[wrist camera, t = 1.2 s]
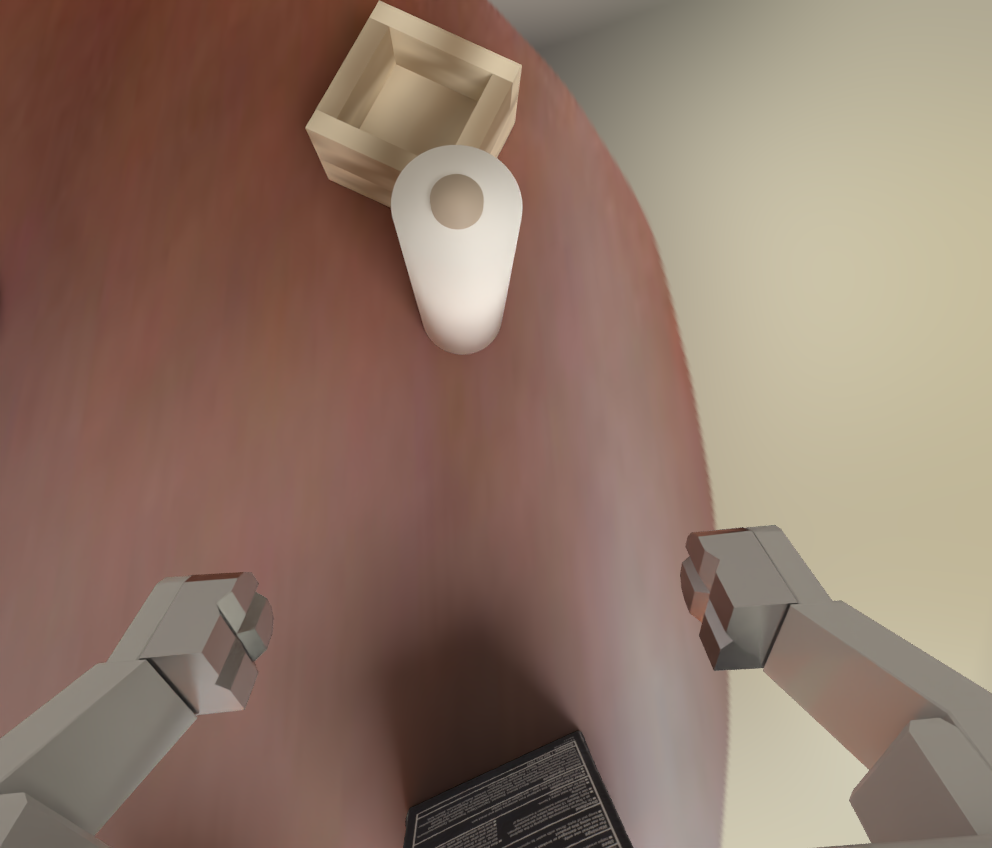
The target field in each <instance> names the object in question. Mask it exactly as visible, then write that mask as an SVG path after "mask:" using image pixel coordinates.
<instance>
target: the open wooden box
mask: <svg viewBox="0 0 992 848" xmlns="http://www.w3.org/2000/svg"><path fill="white" fill-rule="evenodd" d="M521 67H522V65H520V64H518V63H516V62H514V61H511V60H509V59H507V58H505V57H503V56H500V55H498V54H496V53H494V52H492V51H489V50H487V49H485V48H483V47H481V46H478V45H476V44H474V43H472V42H470V41H467V40H465V39H463V38H461V37H459V36H456V35H454V34H452V33H450V32H448V31H445V30H443V29H441V28H439V27H437V26H434V25H432V24H430V23H428V22H426V21H424V20H421V19H419V18H417V17H415V16H413V15H410V14H408V13H406V12H404V11H402V10H399V9H397V8H395V7H393V6H391V5H388V4H386V3H384V2H382V1H380V0H379V2H378V3H377V5H376V7H375V9H374V10H373V12H372V14H371V15H370V17H369V19H368V21H367V22H366V24H365V26H364V28H363V29H362V31H361V33H360V34H359V36H358V38H357V40H356V41H355V43H354V45H353V46H352V48H351V50H350V52H349V53H348V55H347V57H346V59H345V60H344V62H343V64H342V65H341V67H340V69H339V71H338V72H337V74H336V76H335V77H334V79H333V81H332V83H331V84H330V86H329V88H328V89H327V91H326V93H325V95H324V96H323V98H322V100H321V102H320V103H319V105H318V107H317V108H316V110H315V112H314V114H313V115H312V117H311V119H310V120H309V122H308V124H307V126H306V127H305V128H306V130H307V133H308V135H309V137H310V139H311V141H312V144H313V146H314V148H315V150H316V152H317V155H318V157H319V159H320V161H321V163H322V166H323V168H324V170H325V172H326V174H327V177H328V179H329V180H331V181H334V182H336V183H338V184H340V185H342V186H344V187H347V188H349V189H351V190H353V191H355V192H358V193H360V194H362V195H364V196H366V197H368V198H371V199H373V200H375V201H377V202H379V203H381V204H384V205H386V206H388V207H390V208H391V197H392V192H393V188H394V185H395V183H396V180H397V178H398V176H399V175H400V173H401V172H402V170H403V169H404V168H405V167H406V166H407V164H408V163H410V162H411V161H412V160H413V159H414V158H416V157H417V156H419V155H420V154H422V153H424V152H426V151H428V150H430V149H433V148H436V147H440V146H446V145H464V146H470V147H474V148H478V149H480V150H483V151H485V152H487V153H489V154H491V155H493V156H494V157H495V158H497V157H498V155H499V153H500V151H501V149H502V147H503V145H504V144H505V142H506V140H507V138H508V136H509V134H510V132H511V130H512V128H513V126H514V124H515V117H516V108H517V100H518V92H519V84H520V76H521Z"/></svg>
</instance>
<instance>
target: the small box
mask: <svg viewBox="0 0 992 848" xmlns="http://www.w3.org/2000/svg"><path fill="white" fill-rule="evenodd" d="M405 823H406V825H405V826H406V833H405V838H404V846H403V848H633V846H632V843H631V841H630V839H629V837H628V835H627V833H626V831H625V829H624V826H623V824H622V822H621V819H620V817H619V815H618V813H617V811H616V809H615V807H614V804H613V802H612V800H611V798H610V796H609V794H608V791H607V789H606V787H605V785H604V783H603V781H602V779H601V776H600V774H599V772H598V770H597V768H596V765H595V763H594V761H593V759H592V756H591V754H590V751H589V749H588V746H587V744H586V741H585V738H584V736H583V734H582V733H581V732H580V731H576V732H574V733H572V734H570V735H567V736H565V737H563V738H561V739H558V740H556V741H554V742H552V743H550V744H547V745H545V746H543V747H541V748H539V749H537V750H534V751H532V752H530V753H528V754H526V755H523V756H522V757H520V758H517V759H515V760H513V761H511V762H508V763H506V764H504V765H502V766H500V767H498V768H496V769H494V770H491V771H489V772H487V773H485V774H483V775H480V776H478V777H476V778H474V779H472V780H470V781H468V782H465V783H463V784H461V785H459V786H457V787H455V788H452V789H450V790H448V791H446V792H444V793H442V794H439V795H437V796H435V797H433V798H431V799H429V800H427V801H425V802H423V803H421V804H419V805H416V806H414V807H412V808H410V809H409V811H408V813H407V817H406V821H405Z"/></svg>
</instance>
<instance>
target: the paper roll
mask: <svg viewBox="0 0 992 848" xmlns="http://www.w3.org/2000/svg"><path fill="white" fill-rule="evenodd" d="M391 212H392V218H393V221H394V225H395V228H396V232H397V235H398V239H399V242H400V246H401V249H402V253H403V256H404V260H405V263H406V267H407V270H408V274H409V277H410V281H411V284H412V288H413V291H414V295H415V298H416V302H417V305H418V309H419V313H420V316H421V320H422V323H423V326H424V329H425V332H426V334H427V335H428V337H429V338H430V340H431V341H432V342H433V343H434V344H435V345H436V346H438V347H439V348H441V349H442V350H444V351H447V352H449V353H453V354H460V355H466V354H472V353H475V352H478V351H480V350H482V349H484V348H486V347H487V346H488V345H489V344H490V343H491V342H492V341H493V340H494V339H495V338H496V336H497V334H498V333H499V330H500V327H501V323H502V318H503V313H504V308H505V302H506V297H507V292H508V287H509V281H510V276H511V271H512V265H513V260H514V255H515V250H516V244H517V239H518V234H519V228H520V223H521V218H522V198H521V193H520V189H519V186H518V184H517V182H516V180H515V178H514V176H513V175H512V173H511V172H510V171H509V170H508V168H507V167H506V166H505V165H504V164H503V163H502V162H501V161H500V160H498V159H497V158H495V157H494V156H493V155H491V154H489V153H487V152H485V151H483V150H480V149H478V148H474V147H470V146H464V145H446V146H440V147H436V148H433V149H430V150H428V151H426V152H424V153H422V154H420V155H419V156H417V157H416V158H414V159H413V160H412V161H411V162H410V163H408V164H407V166H406V167H405V168H404V169H403V170H402V172H401V173H400V175H399V176H398V178H397V180H396V183H395V185H394V188H393V192H392V197H391Z"/></svg>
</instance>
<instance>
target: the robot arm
mask: <svg viewBox="0 0 992 848" xmlns="http://www.w3.org/2000/svg"><path fill="white" fill-rule="evenodd" d="M685 547H686V549H687V551H688V553H689V557H688V558H687V559H686V560H685V561H684V562H682V567H681V573H680V577H681V588H682V592H683V596H684V600H685V603H686V605H687V608H688V610H689V613H690V614H691V615H693V616H694V617H695V618H696V619H698V620H699V621H700V622H702V626H701V630H700V634H699V637H700V639H701V641H702V644H703V646H704V648H705V651H706V653H707V656H708V658H709V660H710V663H711V665H712V667H713V670H714V671H719V670H737V669H755V668H764V669H763V671H764V672H765V673H766V674H767V675H768V676H769V677H770V678H771V679H772V680H773V681H774V682H776V683H777V684H778V685H779V686H780V687H781V688H782V689H783V690H784V691H785V692H786V693H787V694H788V695H789V696H791V697H792V698H793V699H794V700H795V701H796V702H797V703H798V704H799V705H800V706H801V707H802V708H803V709H804V710H806V711H807V712H808V713H809V714H810V715H811V716H812V717H813V718H814V719H815V720H816V721H817V722H819V724H821V725H822V726H823V727H824V728H825V729H826V730H827V731H828V732H829V733H830V734H831V735H832V736H833V737H835V738H836V739H837V740H838V741H839V742H840V743H841V744H842V745H843V746H844V747H845V748H846V749H847V750H849V751H850V752H851V753H852V754H853V755H854V756H855V757H856V758H857V759H858V760H859V761H860V762H861V763H862V764H864V765H865V766H866V767H867V768H868V769H869V771H868V773H867V774H866V775H865V776H864V778H863V779H862V780H861V781H860V783H859V784H858V785H857V786H856V787H855V788H854V790H853V792H852V794H851V797H850V799H849V801H850V803H851V805H852V807H853V808H854V810H855V812H856V814H857V816H858V818H859V820H860V822H861V824H862V825H863V828H864V830H865V832H866V834H867V836H868V837H869V839H870V841H871V843H869V844H857V845H844V846H831V847H819V848H992V693H990V692H989V691H987V690H985V689H984V688H982V687H981V686H979V685H977V684H976V683H974V682H972V681H971V680H969V679H967V678H966V677H964V676H963V675H961V674H960V673H958V672H956V671H955V670H953V669H951V668H950V667H948V666H946V665H945V664H943V663H942V662H940V661H939V660H937V659H935V658H934V657H932V656H930V655H929V654H927V653H926V652H924V651H922V650H921V649H919V648H918V647H916V646H914V645H913V644H911V643H909V642H908V641H906V640H905V639H903V638H901V637H900V636H898V635H896V634H895V633H893V632H892V631H890V630H888V629H886V628H885V627H884V626H882V625H880V624H879V623H877V622H875V621H874V620H872V619H870V618H869V617H867V616H866V615H864V614H862V613H861V612H859V611H858V610H856V609H854V608H853V607H851V606H850V605H848V604H846V603H844V602H843V601H832V600H831V598H830V597H829V596H828V594H827V593H826V591H825V590H824V588H823V587H822V586H821V584H820V583H819V581H818V580H817V579H816V577H815V576H814V574H813V573H812V572H811V570H810V569H809V568H808V566H807V565H806V563H805V562H804V561H803V559H802V558H801V556H800V555H799V554H798V552H797V551H796V549H795V548H794V547H793V545H792V544H791V542H790V541H789V540H788V538H787V537H786V535H785V534H784V533H783V531H782V530H781V529H780V528H779V527H777V526H776V525H770V526H758V527H747V528H743V527H742V528H732V529H722V530H712V531H701V532H691V533H690V535H689V536H688V537H687V542H686V546H685ZM258 584H259V583H258V581H257V580H256V578H255V577H254V575H253V574H252V572H238V573H221V574H205V575H191V576H177V577H166V578H164V579H163V580H162V581H160V582H159V583H157V584H156V586H155V587H154V589H153V590H152V592H151V593H150V595H149V597H148V598H147V600H146V601H145V603H144V604H143V606H142V607H141V609H140V611H139V612H138V614H137V615H136V617H135V618H134V620H133V621H132V623H131V625H130V626H129V628H128V629H127V631H126V632H125V634H124V635H123V637H122V639H121V640H120V642H119V643H118V645H117V646H116V648H115V649H114V651H113V653H112V654H111V656H110V657H109V659H108V660H107V662H106V663H97V664H96V665H95V666H93V667H92V668H91V669H90V670H88V671H87V672H86V673H84V674H83V675H82V676H81V677H79V678H78V679H77V680H75V681H74V682H73V683H71V684H70V685H69V686H68V687H66V688H65V689H64V690H62V691H61V692H60V693H59V694H57V695H56V696H55V697H53V698H52V699H51V700H50V701H48V702H47V703H46V704H44V705H43V706H42V707H40V708H39V709H38V710H37V711H35V712H34V713H33V714H31V715H30V716H29V717H28V718H26V719H25V720H24V721H22V722H21V723H20V724H19V725H17V726H16V727H15V728H13V729H12V730H11V731H10V732H8V733H7V734H6V735H4V736H3V737H2V738H0V848H112V847H110V846H109V845H107V844H106V843H104V842H102V841H101V840H99V839H98V838H96V837H94V836H95V835H96V834H97V832H98V831H99V830H100V829H101V828H102V827H103V826H104V824H105V823H106V822H107V821H108V820H109V819H110V818H111V816H112V815H113V814H114V813H115V812H116V811H117V810H118V808H119V807H120V806H121V805H122V804H123V803H124V801H125V800H126V799H127V798H128V797H129V796H130V795H131V793H132V792H133V791H134V790H135V789H136V788H137V787H138V785H139V784H140V783H141V782H142V781H143V780H144V779H145V777H146V776H147V775H148V774H149V773H150V772H151V771H152V769H153V768H154V767H155V766H156V765H157V764H158V763H159V761H160V760H161V759H162V758H163V757H164V756H165V755H166V753H167V752H168V751H169V750H170V749H171V748H172V746H173V745H174V744H175V743H176V742H177V741H178V740H179V738H180V737H181V736H182V735H183V734H184V733H185V732H186V730H187V729H188V728H189V727H190V726H191V725H192V724H193V722H194V721H195V720H196V719H197V716H196V715H203V714H212V713H221V712H229V711H238V710H245V708H246V705H247V702H248V700H249V697H250V694H251V691H252V689H253V686H254V683H255V681H256V678H257V675H258V670H257V667H256V664H255V660H256V659H257V658H258V657H259V656H260V655H261V654H263V653H264V652H265V651H266V650H267V648H268V645H269V642H270V639H271V636H272V631H273V620H274V617H273V612H272V607H271V605H270V603H269V601H268V599H267V598H265V597H264V596H262V595H260V594H258V593H257V592H255V591H256V589H257V586H258Z"/></svg>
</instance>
